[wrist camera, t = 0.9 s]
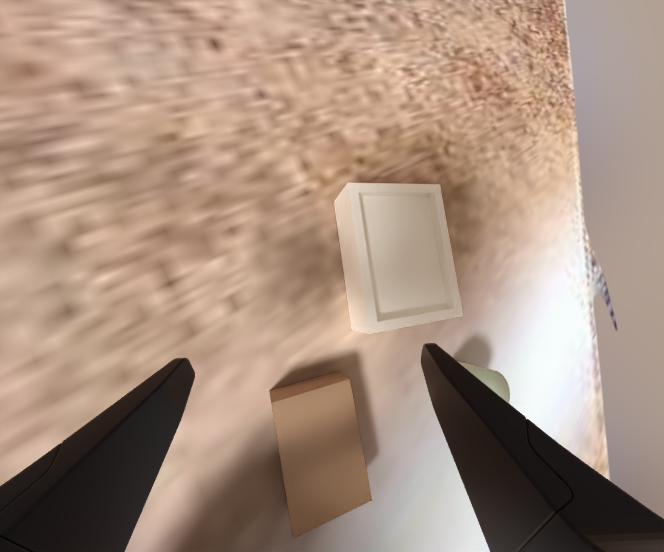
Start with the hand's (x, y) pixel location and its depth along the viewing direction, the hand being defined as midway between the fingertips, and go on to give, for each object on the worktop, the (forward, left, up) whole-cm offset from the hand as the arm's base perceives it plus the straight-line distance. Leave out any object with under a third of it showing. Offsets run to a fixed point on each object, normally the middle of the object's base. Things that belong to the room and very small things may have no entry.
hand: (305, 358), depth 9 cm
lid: (-9, -2, -12) cm, 15 cm away
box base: (+5, -11, -12) cm, 17 cm away
